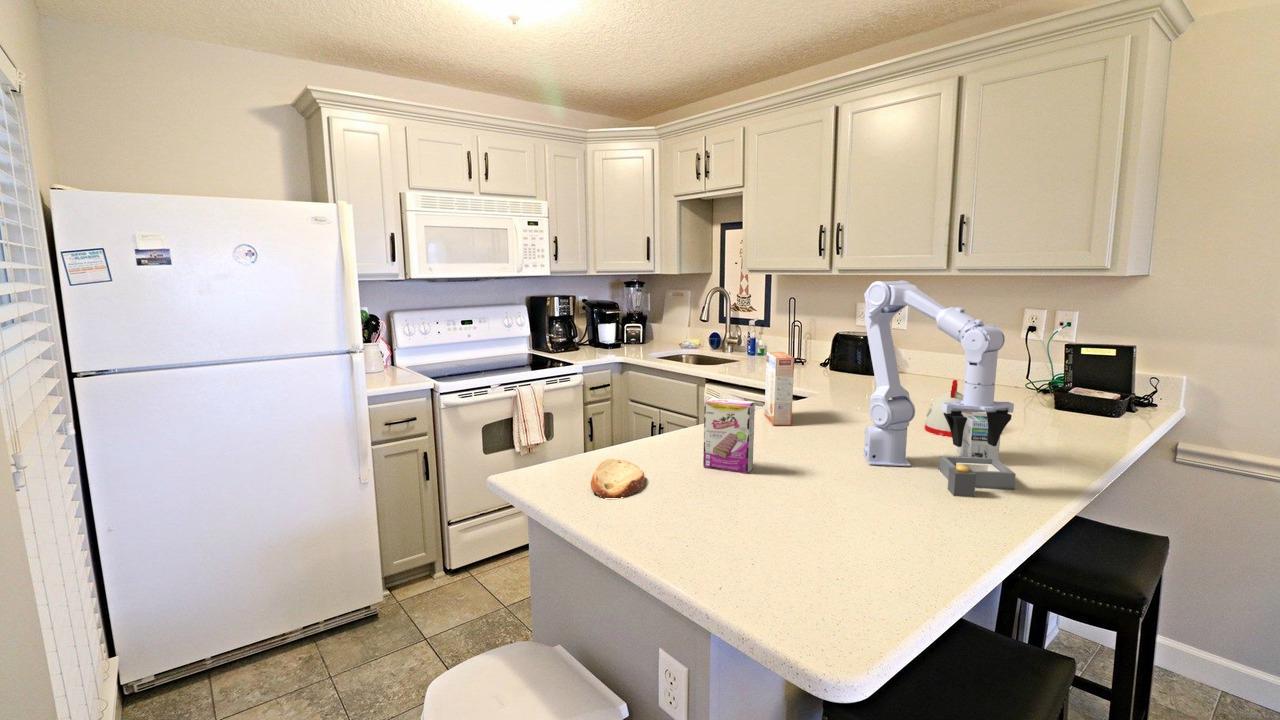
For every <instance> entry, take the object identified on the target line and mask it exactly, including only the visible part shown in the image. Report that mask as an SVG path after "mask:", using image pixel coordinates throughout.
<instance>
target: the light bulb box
mask: <svg viewBox="0 0 1280 720" xmlns="http://www.w3.org/2000/svg"><path fill="white" fill-rule="evenodd" d="M962 414H963V416H964V417H966V418H967V421H966V424H965V427H964V431H963V442H962V446H961V447H957V446H956V452H957V453H958V454H959V455H960V457H981V458H996V459H997V460H998V461H1000V460H999V457H1000V446H1001V445H1000V444H1001V437H1000V438H999V440H998V443H997V445H996V446H992V445H990V444H988V441H987V436H988V419H987V413H986V412H967V413H962Z"/></svg>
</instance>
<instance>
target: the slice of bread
mask: <svg viewBox="0 0 1280 720" xmlns="http://www.w3.org/2000/svg"><path fill="white" fill-rule="evenodd" d="M645 479H646V476H645V472H644V471H643V470H642V469H640V467H639V466H637V465H636V464H635V463H631V462H628V461H626V460H620V459H614V458H607V459H605V460H603V461H602V462H601V463H599V465H598V466H597V467H596V469H595V471H594V473H593V474H592V478H591V480H590V489H591V491H592V492H593V493H594V494H596V495H597V496H598V497H599V496H601V497H604V498H603V499H605V498H621V497H626V496H627V497H629V496H631V495H633V494H632V493H634V494H636V493H637V491H638V492H640V491H639V490H640V489H641V488H642V489H643V487H644V485H643V484H645V482H644V481H646V480H645ZM642 489H641V490H642ZM635 492H636V493H635ZM630 494H631V495H630ZM628 495H629V496H628ZM601 497H600V498H601ZM627 497H626V498H627Z"/></svg>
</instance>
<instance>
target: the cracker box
mask: <svg viewBox="0 0 1280 720" xmlns="http://www.w3.org/2000/svg"><path fill="white" fill-rule="evenodd" d="M794 368H795V357H793V356H792V355H789V354H788V353H786V352H785V351H767V352H766V365H765V389H764V390H765V395H764V416H765V417H766V418H767V419H768V421H769V422H770V423H771V424H772V425H773V426H786V427H787V426H789V427H790V426H792V417H793V414H792V413H793V395H794V375H795V374H794V371H795V369H794Z"/></svg>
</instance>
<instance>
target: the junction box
mask: <svg viewBox="0 0 1280 720" xmlns="http://www.w3.org/2000/svg"><path fill="white" fill-rule="evenodd" d="M958 464H963V465H967V466H969V468H970V469H971V470H972V471H973V472H974V473H975V474H976V483H975V489H976V488H978V489H995V490H996V489H997V490H999V489H1002V490H1015V485H1016V473H1015V472H1014V471H1013V470H1011V469H1010V468H1008V467H1007V465H1005V464H1003V462H1001V461H1000V460H997V459H996V458H981V457H962V456H958V455H957V456H956V455H954V456H952V455H939V463H938V471H939V470H940V471H939V472H940V473H941V474H942V475H943V476H944V477H945V479H947V480H948V477H949V467H956V465H958Z"/></svg>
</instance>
